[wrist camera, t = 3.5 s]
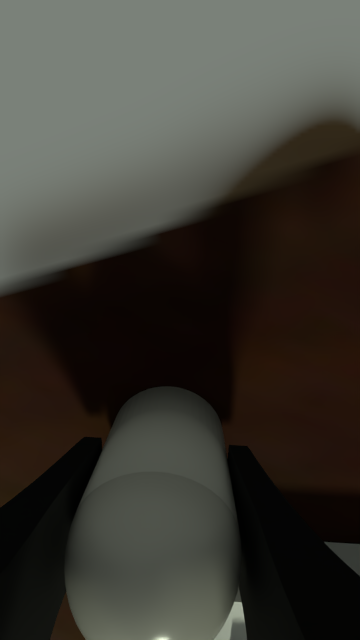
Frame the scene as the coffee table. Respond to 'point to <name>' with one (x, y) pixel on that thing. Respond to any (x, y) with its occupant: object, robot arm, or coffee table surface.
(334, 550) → the egg carton
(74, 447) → the robot arm
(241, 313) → the coffee table surface
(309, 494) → the coffee table surface
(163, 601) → the egg
